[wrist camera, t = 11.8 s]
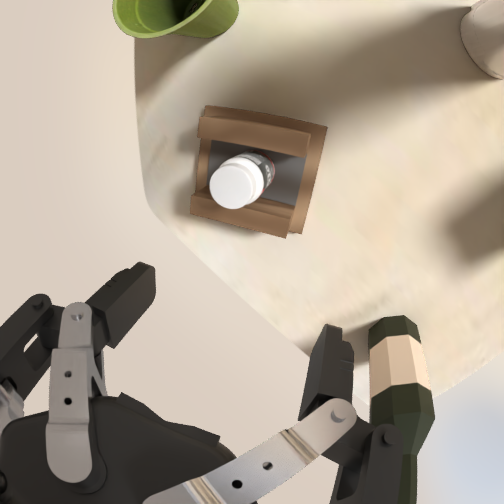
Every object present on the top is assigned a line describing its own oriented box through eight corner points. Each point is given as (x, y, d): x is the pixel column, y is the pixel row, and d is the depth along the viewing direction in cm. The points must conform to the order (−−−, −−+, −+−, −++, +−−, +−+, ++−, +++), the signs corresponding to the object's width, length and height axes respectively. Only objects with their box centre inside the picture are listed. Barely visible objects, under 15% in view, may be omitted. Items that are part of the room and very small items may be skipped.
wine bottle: (358, 348, 42) (342, 537, 16) (379, 309, 37) (383, 529, 12) (402, 357, 40) (407, 534, 15) (426, 320, 36) (456, 518, 11)
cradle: (209, 105, 31) (187, 105, 26) (327, 127, 29) (326, 129, 24) (197, 203, 37) (177, 219, 33) (302, 230, 35) (297, 250, 30)
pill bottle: (268, 195, 33) (248, 221, 26) (230, 181, 33) (200, 203, 26) (280, 157, 30) (263, 172, 23) (241, 143, 31) (212, 155, 24)
